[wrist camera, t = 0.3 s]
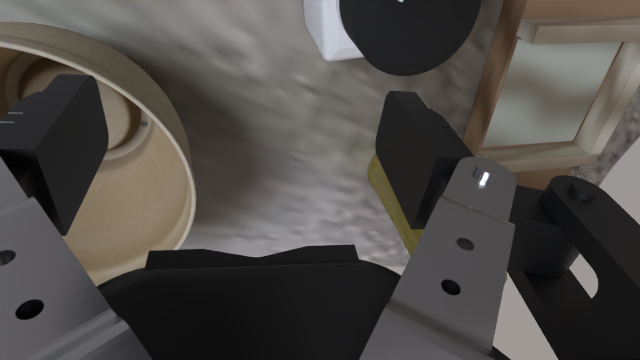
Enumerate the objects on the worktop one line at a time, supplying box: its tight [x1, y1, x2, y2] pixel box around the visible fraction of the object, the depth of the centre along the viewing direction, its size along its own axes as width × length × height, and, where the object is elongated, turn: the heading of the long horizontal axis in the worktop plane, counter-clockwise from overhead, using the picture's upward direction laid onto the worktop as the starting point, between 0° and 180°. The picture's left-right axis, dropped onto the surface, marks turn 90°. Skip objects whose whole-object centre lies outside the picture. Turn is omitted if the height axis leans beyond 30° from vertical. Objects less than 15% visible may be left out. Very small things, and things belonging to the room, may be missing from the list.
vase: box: [368, 154, 507, 284], centre depth 32 cm, size 6×6×14 cm
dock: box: [463, 0, 640, 191], centre depth 34 cm, size 20×11×4 cm, turn 177°
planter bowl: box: [0, 22, 197, 286], centre depth 24 cm, size 16×16×11 cm
